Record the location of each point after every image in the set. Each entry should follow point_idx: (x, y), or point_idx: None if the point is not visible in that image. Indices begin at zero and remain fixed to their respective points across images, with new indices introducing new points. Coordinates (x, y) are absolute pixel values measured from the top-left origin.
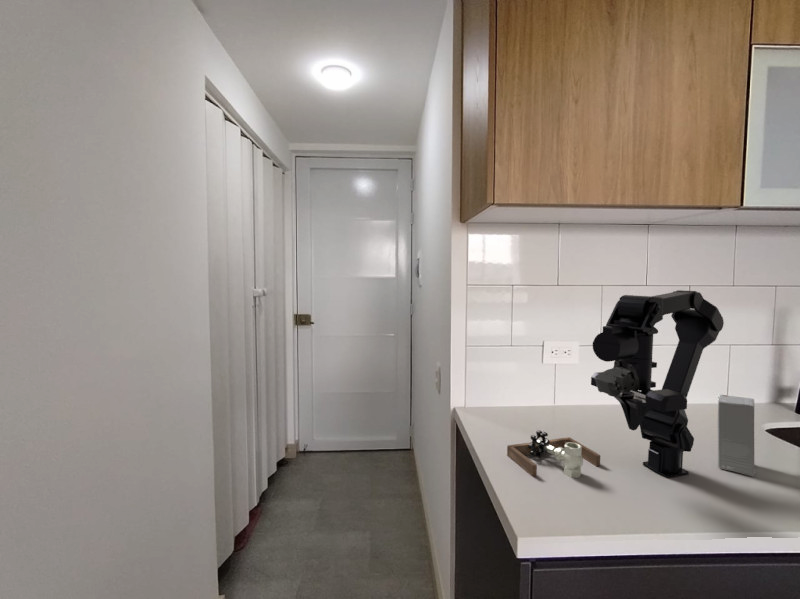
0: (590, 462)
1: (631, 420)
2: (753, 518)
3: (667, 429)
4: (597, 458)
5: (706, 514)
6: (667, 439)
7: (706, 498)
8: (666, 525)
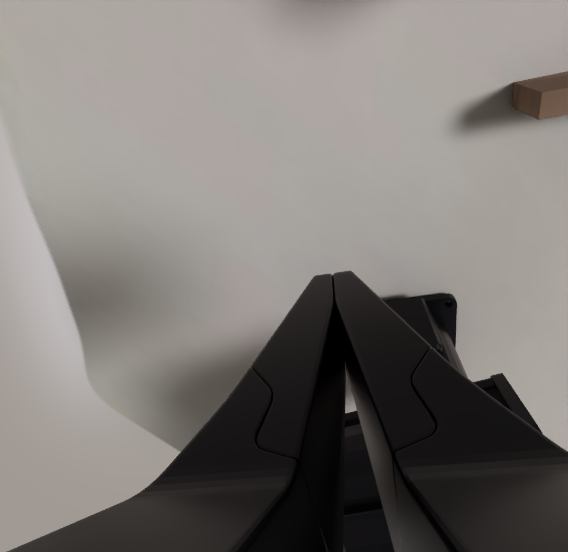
0: (561, 73)
1: (309, 325)
2: (127, 361)
3: (354, 475)
4: (532, 95)
5: (129, 269)
6: (357, 426)
7: (219, 329)
8: (30, 86)
